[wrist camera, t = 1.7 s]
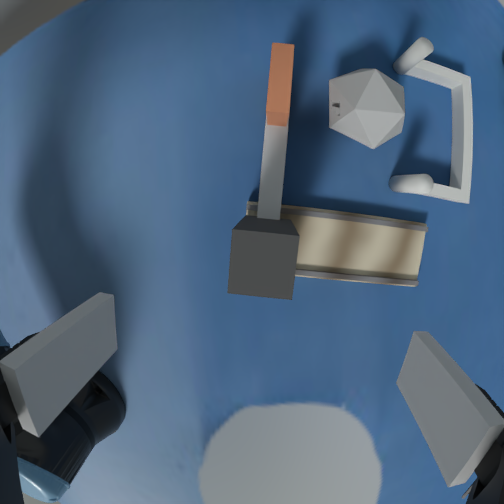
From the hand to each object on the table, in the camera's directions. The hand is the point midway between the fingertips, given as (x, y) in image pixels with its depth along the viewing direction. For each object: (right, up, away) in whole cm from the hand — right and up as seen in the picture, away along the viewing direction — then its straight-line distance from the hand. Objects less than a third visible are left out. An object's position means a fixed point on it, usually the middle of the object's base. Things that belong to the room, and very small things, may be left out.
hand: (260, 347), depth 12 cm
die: (+12, +20, +21) cm, 32 cm away
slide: (+10, +5, +24) cm, 26 cm away
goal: (+22, +19, +20) cm, 36 cm away
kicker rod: (+2, +14, +22) cm, 26 cm away
